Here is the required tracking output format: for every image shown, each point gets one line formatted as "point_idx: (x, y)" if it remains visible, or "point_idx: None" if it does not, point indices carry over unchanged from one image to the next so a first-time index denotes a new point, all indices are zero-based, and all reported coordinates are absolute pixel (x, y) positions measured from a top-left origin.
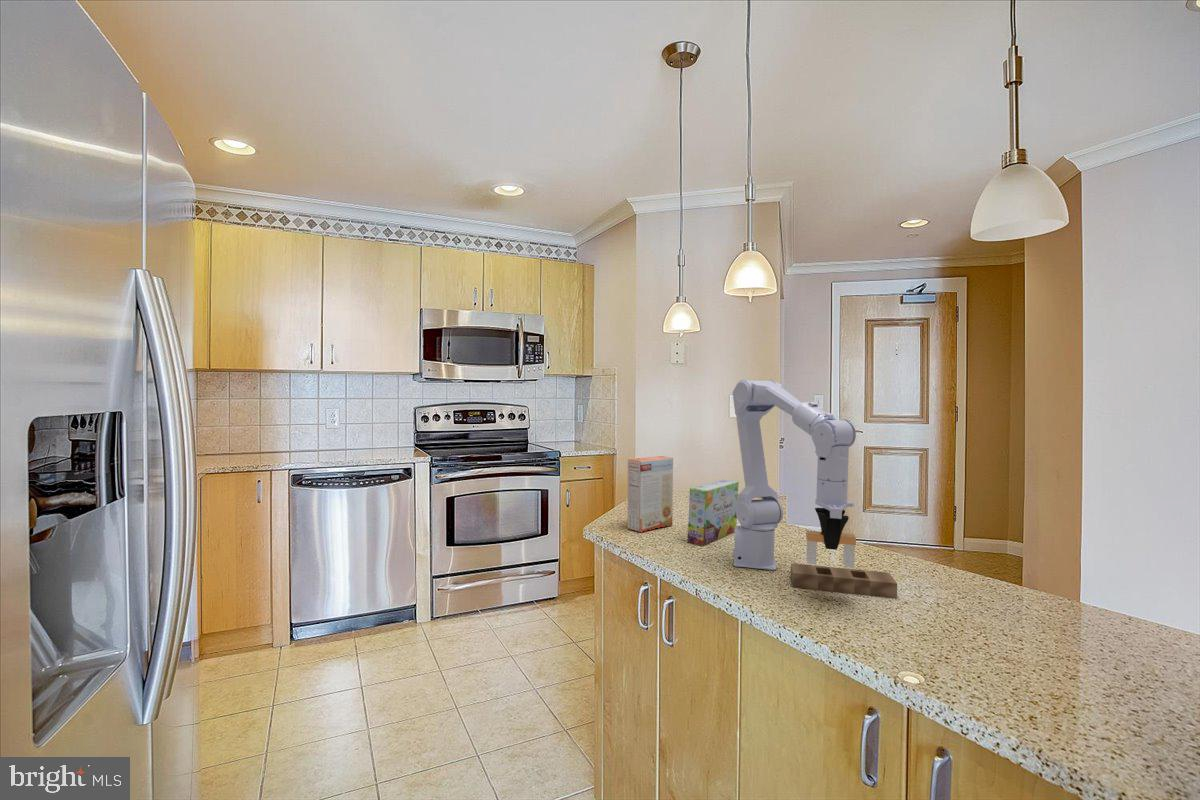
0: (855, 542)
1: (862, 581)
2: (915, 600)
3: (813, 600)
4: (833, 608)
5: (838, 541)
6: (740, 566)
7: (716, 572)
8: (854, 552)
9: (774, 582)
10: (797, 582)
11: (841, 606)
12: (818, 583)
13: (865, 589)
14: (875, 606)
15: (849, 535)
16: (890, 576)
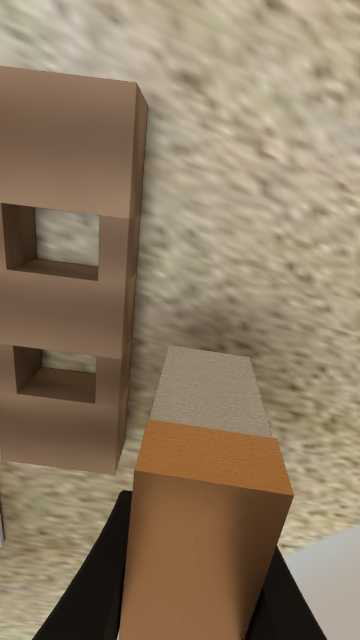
0: (278, 458)
1: (127, 251)
2: (153, 14)
3: None
4: (285, 372)
5: (286, 567)
6: (2, 534)
7: (66, 577)
8: (263, 408)
9: (99, 474)
10: (122, 440)
11: (266, 345)
12: (124, 388)
13: (136, 235)
14: (252, 232)
15: (202, 518)
16: (25, 79)
